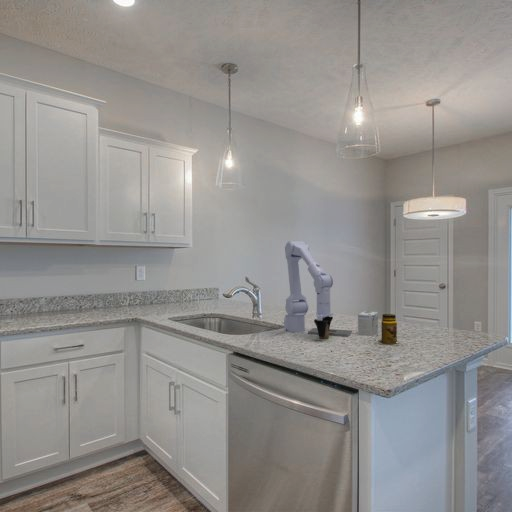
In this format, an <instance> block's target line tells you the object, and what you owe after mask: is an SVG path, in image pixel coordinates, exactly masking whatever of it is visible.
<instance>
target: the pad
mask: <svg viewBox="0 0 512 512" xmlns="http://www.w3.org/2000/svg"><path fill="white" fill-rule="evenodd" d="M337 338H338V337H335V336H329V339H319V335H317V336H316V335H314V336H312V338H310V340H315V341H328V342H329V341H330V342H335V341H336V340H337Z"/></svg>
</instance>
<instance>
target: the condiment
mask: <svg viewBox="0 0 512 512" xmlns="http://www.w3.org/2000/svg"><path fill="white" fill-rule="evenodd" d="M381 316H382V320H381V339H378V340H377V341H376V342H375V344H377V345H378V344H380V345H386V346H396V345H395V344H397V343H398V344H399V343H400V342H399V341H398V338H397V337H398V336H397V335H398V333H397V331H398V330H397V329H398V327H397V325H398V324H397V319H396V318H397V317H396V314H393V313H385V314H382V315H381ZM396 342H397V343H396ZM398 344H397V345H398Z"/></svg>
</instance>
